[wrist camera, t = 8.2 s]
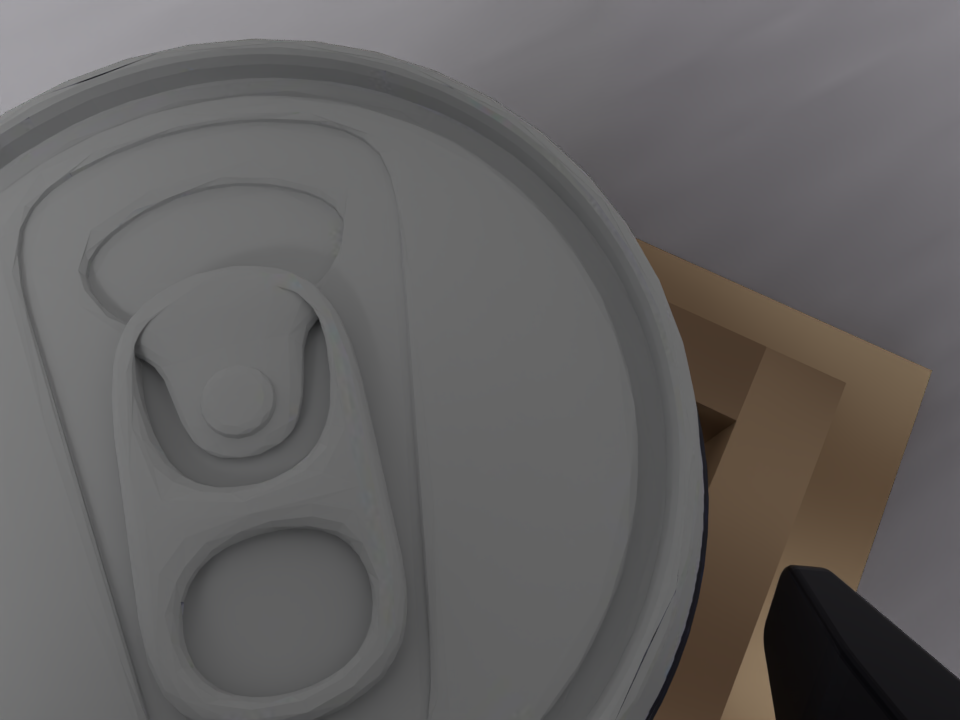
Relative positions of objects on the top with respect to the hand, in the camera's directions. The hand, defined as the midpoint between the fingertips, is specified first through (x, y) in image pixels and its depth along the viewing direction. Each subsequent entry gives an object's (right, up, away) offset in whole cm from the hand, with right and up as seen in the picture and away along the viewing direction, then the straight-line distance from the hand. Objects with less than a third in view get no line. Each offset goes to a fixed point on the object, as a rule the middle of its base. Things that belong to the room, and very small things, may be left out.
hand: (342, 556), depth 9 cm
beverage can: (0, -2, +7) cm, 8 cm away
